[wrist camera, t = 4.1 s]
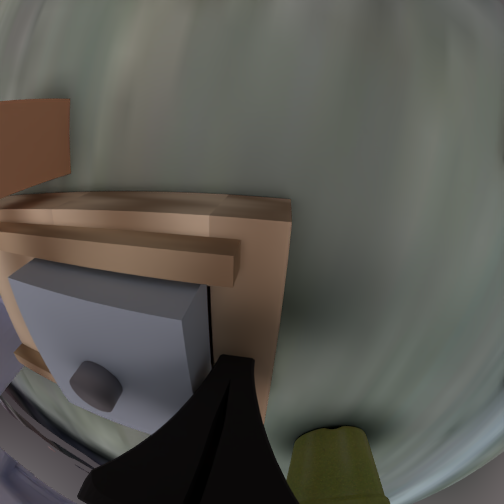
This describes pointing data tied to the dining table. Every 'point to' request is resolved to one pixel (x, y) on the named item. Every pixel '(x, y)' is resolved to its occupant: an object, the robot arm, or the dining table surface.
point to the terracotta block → (33, 143)
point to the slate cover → (117, 338)
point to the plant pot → (334, 468)
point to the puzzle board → (163, 257)
